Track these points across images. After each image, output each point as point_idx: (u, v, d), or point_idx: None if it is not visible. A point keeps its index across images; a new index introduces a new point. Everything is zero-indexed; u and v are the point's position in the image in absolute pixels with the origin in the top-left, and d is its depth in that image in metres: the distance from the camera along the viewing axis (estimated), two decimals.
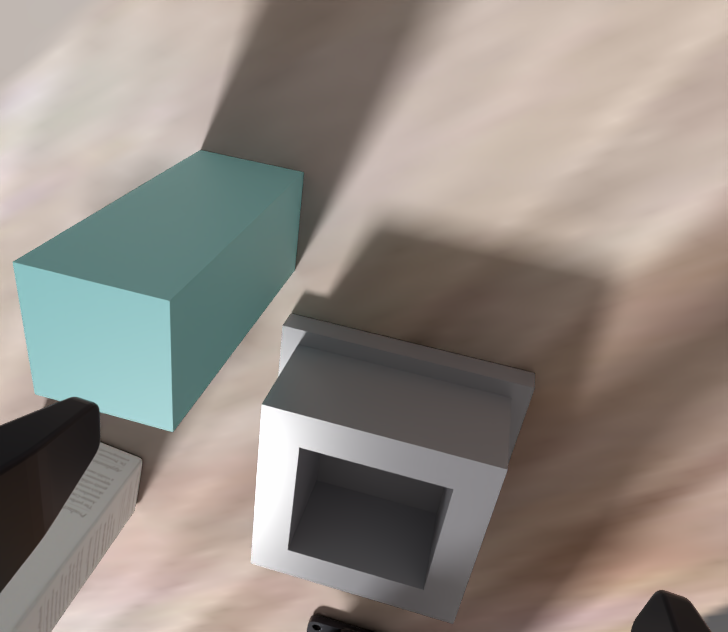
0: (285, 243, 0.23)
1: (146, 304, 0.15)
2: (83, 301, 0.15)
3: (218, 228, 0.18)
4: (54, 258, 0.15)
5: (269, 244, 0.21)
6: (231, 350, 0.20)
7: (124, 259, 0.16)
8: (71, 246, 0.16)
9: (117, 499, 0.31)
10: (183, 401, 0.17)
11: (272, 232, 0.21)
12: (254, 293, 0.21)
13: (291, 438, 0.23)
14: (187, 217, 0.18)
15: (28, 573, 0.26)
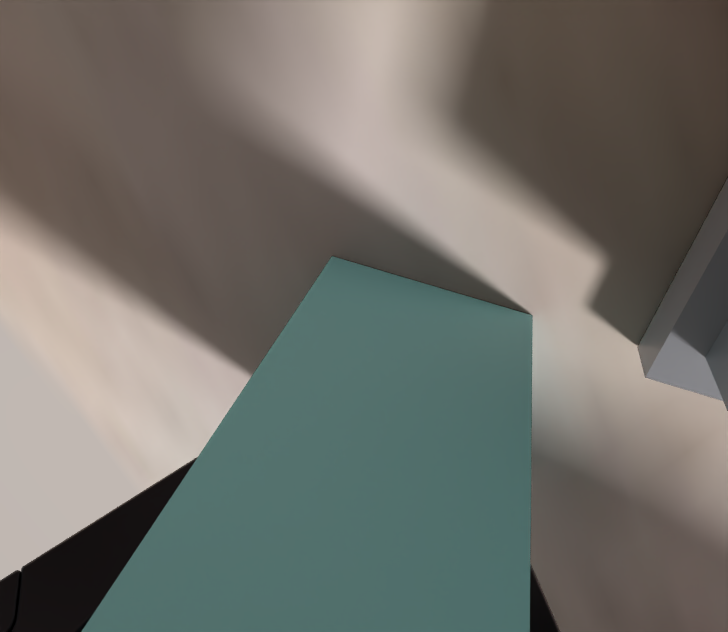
0: (428, 328, 0.11)
1: None
2: None
3: None
4: None
5: (366, 372, 0.10)
6: (515, 590, 0.07)
7: None
8: None
9: None
10: None
11: (351, 356, 0.10)
12: (438, 449, 0.08)
13: None
14: None
15: None
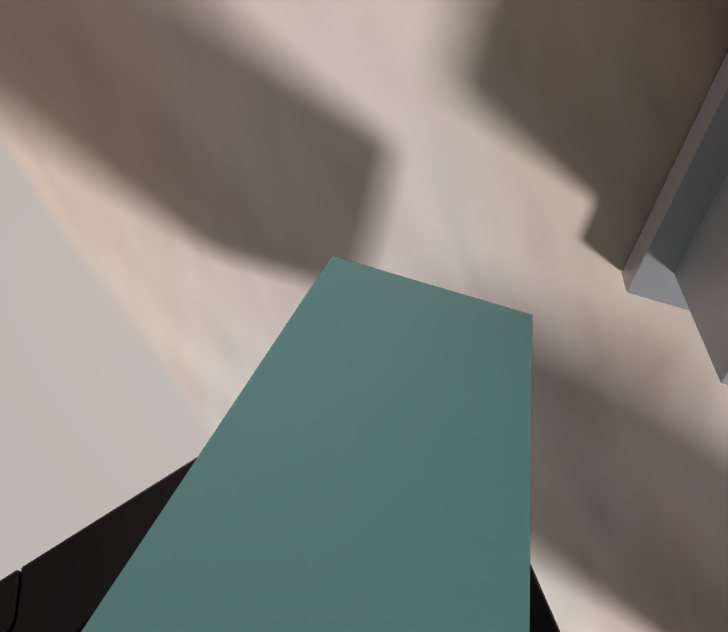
0: (428, 327, 0.11)
1: None
2: None
3: None
4: None
5: (366, 372, 0.10)
6: (514, 589, 0.07)
7: None
8: None
9: None
10: None
11: (351, 355, 0.10)
12: (438, 448, 0.08)
13: None
14: None
15: None
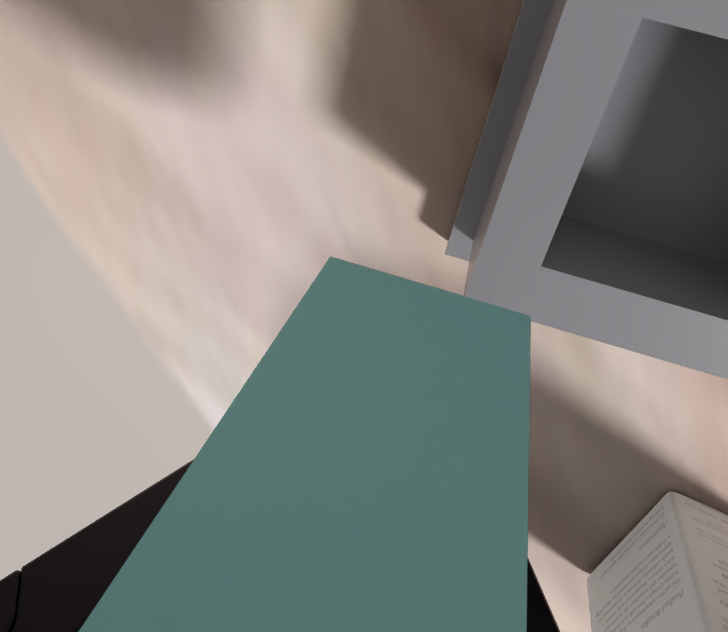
0: (425, 328, 0.11)
1: None
2: None
3: None
4: None
5: (364, 372, 0.10)
6: (512, 590, 0.07)
7: None
8: None
9: (696, 544, 0.22)
10: None
11: (349, 356, 0.10)
12: (436, 450, 0.08)
13: (523, 273, 0.16)
14: None
15: None
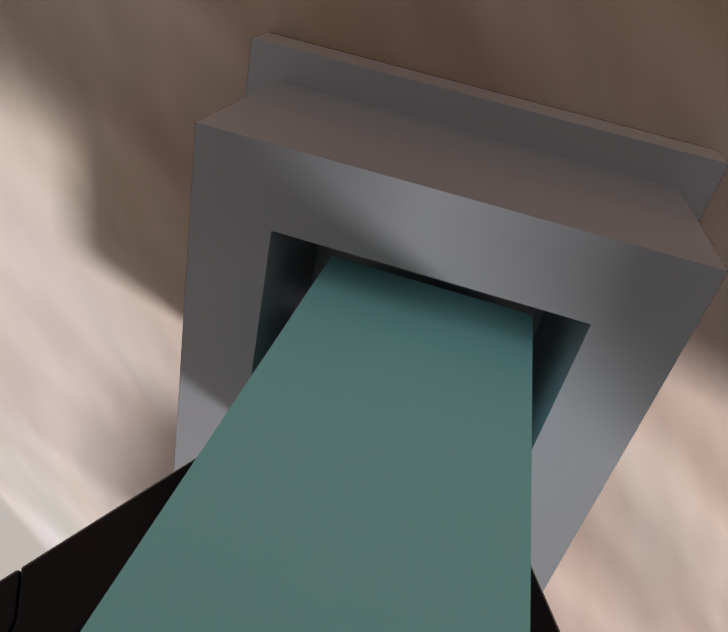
0: (427, 327, 0.11)
1: None
2: None
3: None
4: None
5: (366, 373, 0.10)
6: (515, 591, 0.07)
7: None
8: None
9: None
10: None
11: (351, 355, 0.10)
12: (438, 449, 0.08)
13: None
14: None
15: None
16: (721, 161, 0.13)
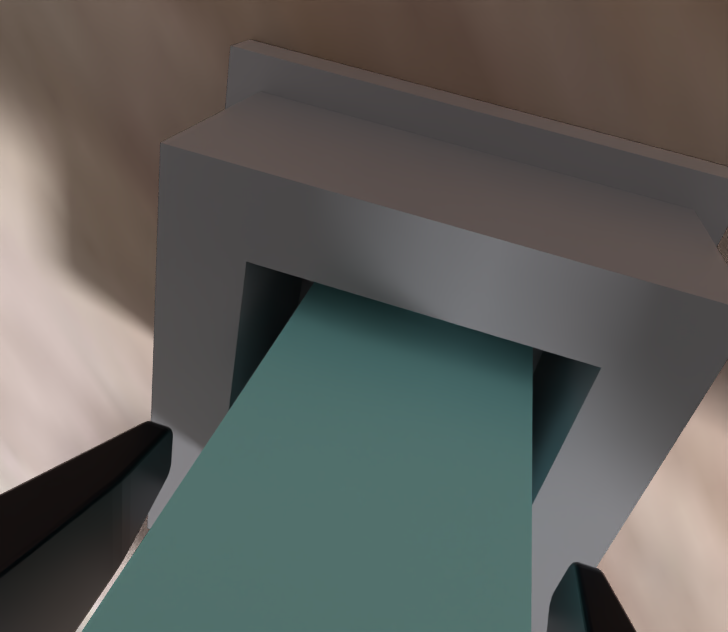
0: None
1: None
2: None
3: None
4: None
5: (385, 323, 0.11)
6: (519, 491, 0.08)
7: None
8: None
9: None
10: None
11: (372, 310, 0.11)
12: (451, 385, 0.10)
13: None
14: None
15: None
16: None
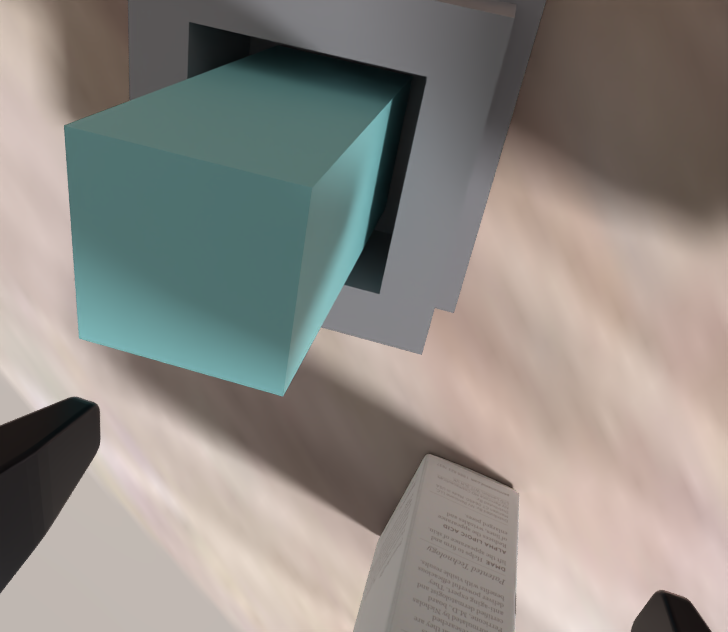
0: (336, 70, 0.17)
1: (80, 165, 0.10)
2: (105, 262, 0.11)
3: None
4: None
5: (290, 75, 0.15)
6: (357, 126, 0.13)
7: None
8: None
9: (429, 499, 0.24)
10: (289, 167, 0.10)
11: (282, 70, 0.16)
12: (328, 96, 0.14)
13: None
14: None
15: (377, 630, 0.20)
16: None
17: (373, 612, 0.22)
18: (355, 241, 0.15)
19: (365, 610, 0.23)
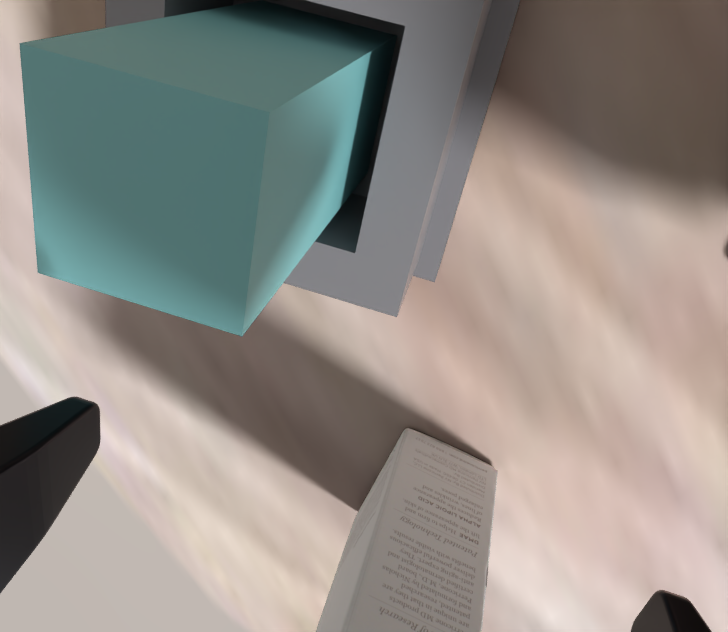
0: (318, 24, 0.17)
1: (36, 86, 0.10)
2: (63, 191, 0.11)
3: None
4: None
5: (269, 24, 0.15)
6: (330, 69, 0.12)
7: None
8: None
9: (406, 471, 0.23)
10: (250, 95, 0.10)
11: (261, 20, 0.15)
12: (305, 43, 0.14)
13: None
14: None
15: (345, 597, 0.19)
16: None
17: (344, 581, 0.21)
18: (329, 195, 0.15)
19: (337, 580, 0.23)
